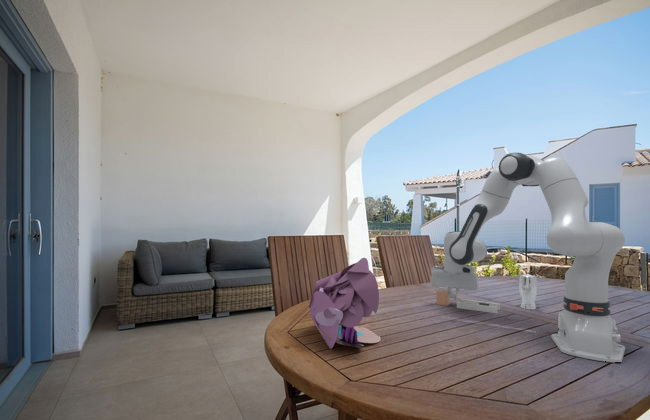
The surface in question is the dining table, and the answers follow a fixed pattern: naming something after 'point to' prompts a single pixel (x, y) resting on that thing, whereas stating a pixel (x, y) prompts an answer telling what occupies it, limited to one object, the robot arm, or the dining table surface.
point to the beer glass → (528, 291)
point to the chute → (478, 306)
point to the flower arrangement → (345, 305)
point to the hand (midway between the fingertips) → (453, 298)
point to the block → (443, 297)
